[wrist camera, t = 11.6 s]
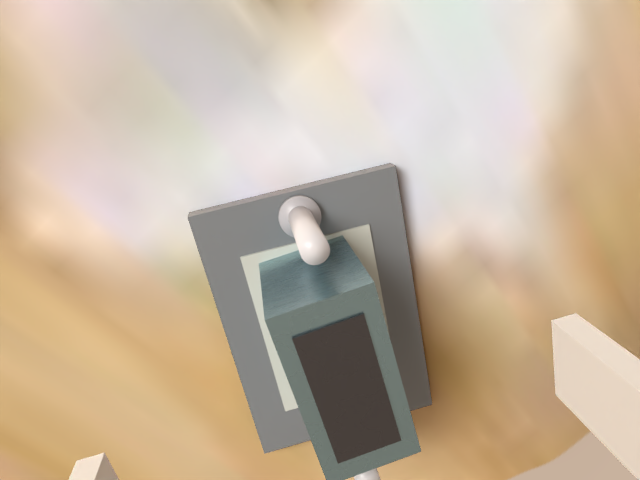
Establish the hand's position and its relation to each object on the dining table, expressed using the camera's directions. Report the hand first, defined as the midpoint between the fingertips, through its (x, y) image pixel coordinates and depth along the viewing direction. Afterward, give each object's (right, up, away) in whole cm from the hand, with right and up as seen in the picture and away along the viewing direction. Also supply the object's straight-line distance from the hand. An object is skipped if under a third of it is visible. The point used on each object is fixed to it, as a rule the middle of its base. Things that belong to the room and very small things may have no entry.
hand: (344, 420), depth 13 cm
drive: (0, -1, +20) cm, 20 cm away
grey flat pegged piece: (-1, 0, +22) cm, 22 cm away
